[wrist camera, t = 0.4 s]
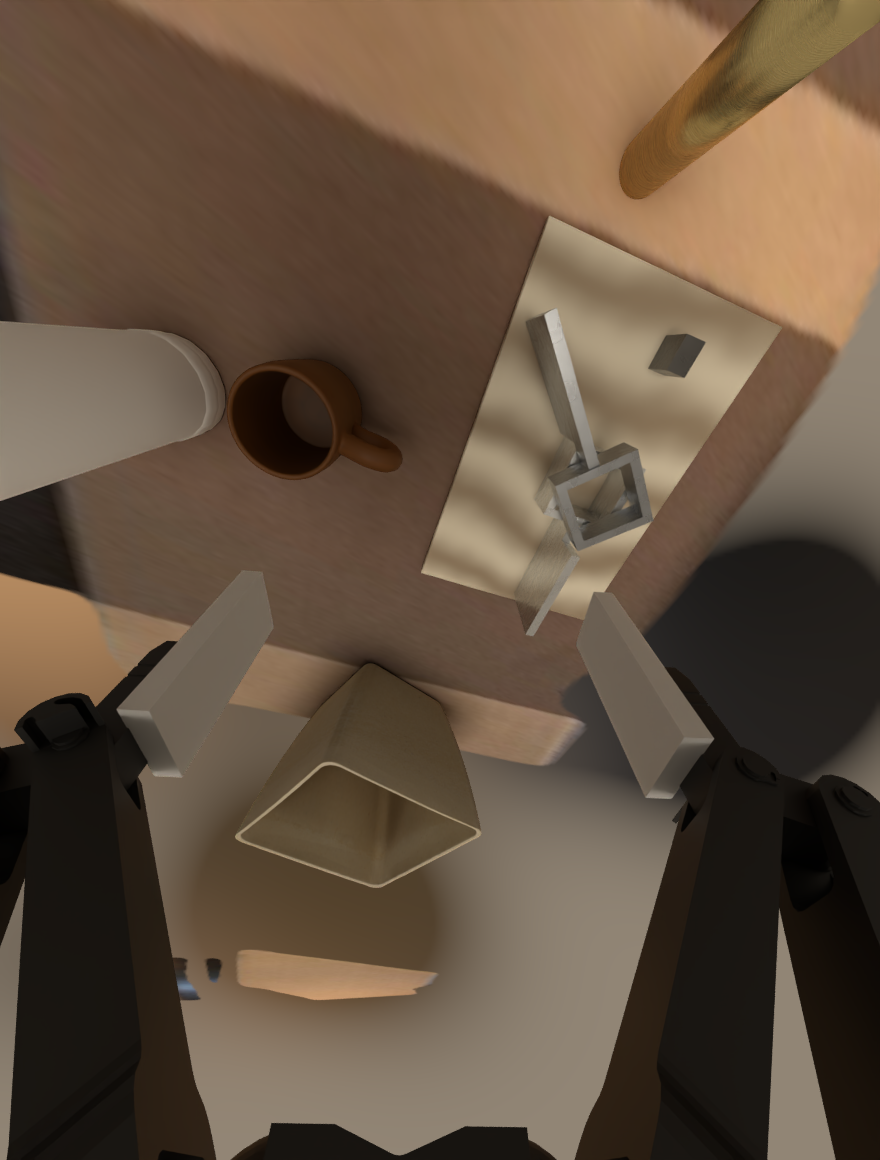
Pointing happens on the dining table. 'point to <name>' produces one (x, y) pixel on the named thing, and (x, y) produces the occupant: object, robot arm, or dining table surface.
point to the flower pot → (367, 786)
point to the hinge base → (555, 547)
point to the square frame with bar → (584, 442)
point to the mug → (303, 420)
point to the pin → (741, 82)
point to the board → (588, 408)
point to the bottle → (96, 399)
